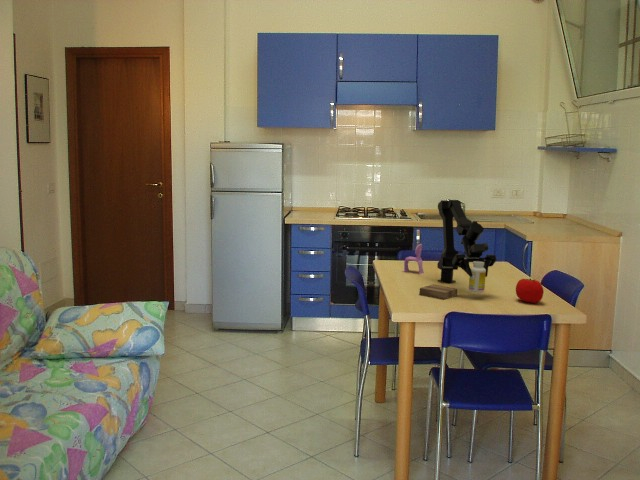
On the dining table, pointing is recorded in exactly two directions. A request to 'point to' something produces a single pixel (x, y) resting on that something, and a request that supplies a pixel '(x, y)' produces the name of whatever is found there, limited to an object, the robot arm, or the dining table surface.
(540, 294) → the tomato
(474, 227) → the robot arm
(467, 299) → the dining table surface
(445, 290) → the base
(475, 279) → the supplement bottle
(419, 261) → the toy chair
